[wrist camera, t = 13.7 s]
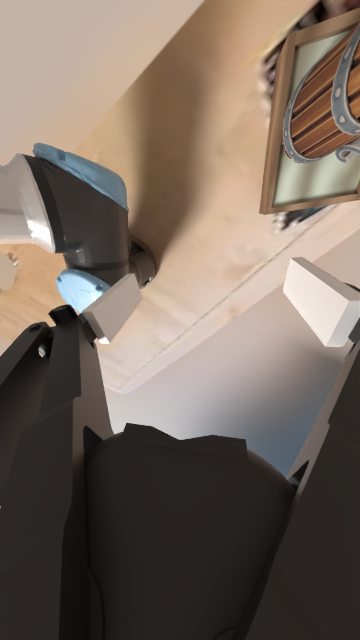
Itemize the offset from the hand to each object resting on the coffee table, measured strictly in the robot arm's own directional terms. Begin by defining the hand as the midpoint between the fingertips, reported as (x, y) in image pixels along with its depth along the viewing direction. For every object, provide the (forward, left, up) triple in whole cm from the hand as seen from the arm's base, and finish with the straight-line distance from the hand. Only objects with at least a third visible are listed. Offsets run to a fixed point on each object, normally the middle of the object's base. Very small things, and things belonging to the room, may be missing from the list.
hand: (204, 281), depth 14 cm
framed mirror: (+19, +12, -33) cm, 40 cm away
